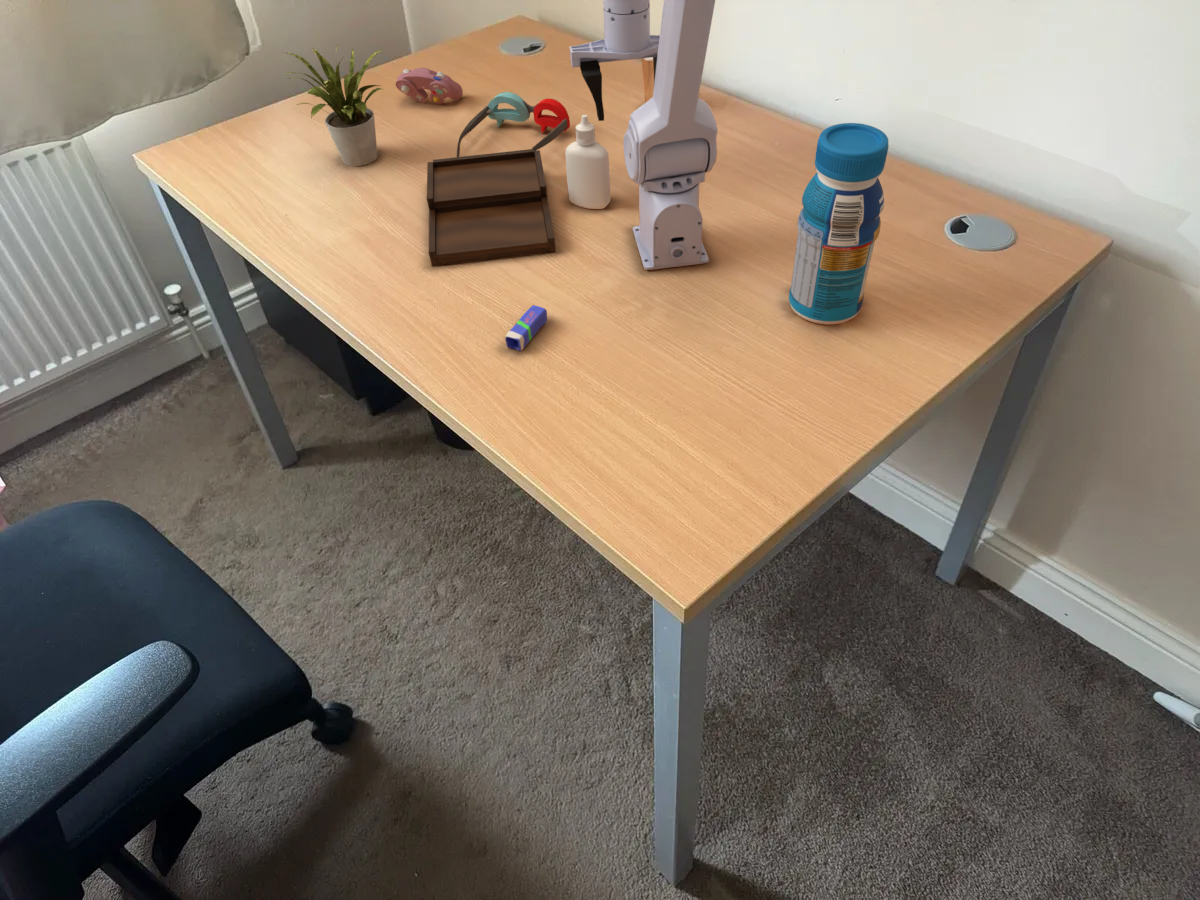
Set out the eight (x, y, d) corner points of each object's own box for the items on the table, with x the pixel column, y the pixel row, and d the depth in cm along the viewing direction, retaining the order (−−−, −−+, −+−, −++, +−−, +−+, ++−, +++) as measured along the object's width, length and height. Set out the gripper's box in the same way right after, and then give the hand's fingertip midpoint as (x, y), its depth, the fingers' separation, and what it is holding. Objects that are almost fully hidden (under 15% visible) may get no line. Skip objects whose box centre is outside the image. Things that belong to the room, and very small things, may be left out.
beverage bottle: (771, 306, 97) (791, 139, 82) (815, 274, 101) (842, 109, 86) (834, 337, 93) (866, 167, 78) (877, 302, 96) (916, 134, 82)
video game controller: (404, 110, 141) (387, 80, 134) (412, 87, 142) (396, 56, 135) (459, 115, 138) (444, 85, 132) (466, 92, 140) (452, 61, 133)
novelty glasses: (575, 132, 129) (572, 100, 125) (529, 179, 120) (525, 145, 116) (495, 119, 133) (491, 87, 130) (445, 163, 124) (439, 130, 121)
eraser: (506, 348, 94) (503, 334, 93) (533, 318, 98) (532, 303, 96) (521, 353, 93) (518, 339, 92) (548, 322, 97) (547, 308, 95)
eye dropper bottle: (591, 188, 117) (586, 103, 108) (615, 205, 114) (611, 118, 105) (564, 199, 115) (557, 113, 107) (588, 216, 112) (582, 129, 103)
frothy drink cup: (631, 104, 134) (630, 39, 127) (661, 97, 136) (662, 31, 128) (644, 116, 131) (644, 49, 124) (675, 108, 133) (676, 41, 125)
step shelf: (555, 252, 107) (553, 224, 104) (431, 266, 106) (425, 238, 103) (542, 174, 120) (539, 147, 118) (432, 186, 120) (426, 160, 117)
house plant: (285, 178, 123) (246, 64, 111) (328, 134, 132) (296, 24, 121) (375, 186, 120) (345, 69, 109) (412, 140, 130) (388, 28, 118)
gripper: (678, -11, 107) (676, 96, 117) (564, 0, 106) (572, 107, 116) (689, 9, 102) (686, 119, 112) (570, 21, 101) (577, 130, 111)
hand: (628, 114), depth 114 cm, fingers open, 7 cm apart
